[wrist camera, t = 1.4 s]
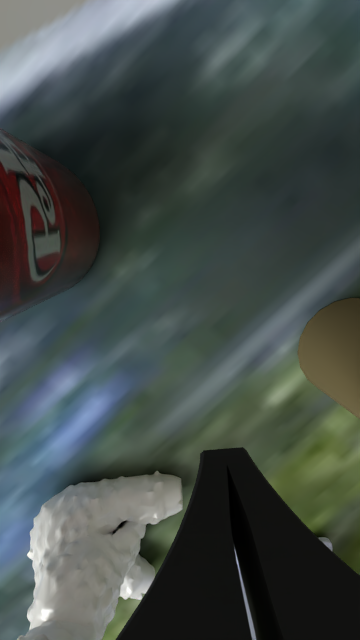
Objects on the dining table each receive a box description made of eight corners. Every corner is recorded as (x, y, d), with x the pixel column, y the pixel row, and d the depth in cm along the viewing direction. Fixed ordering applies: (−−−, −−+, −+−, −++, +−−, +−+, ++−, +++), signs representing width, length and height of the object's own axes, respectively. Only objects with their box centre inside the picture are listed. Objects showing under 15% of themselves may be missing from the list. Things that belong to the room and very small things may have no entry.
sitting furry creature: (149, 578, 24) (117, 902, 12) (33, 549, 23) (-115, 860, 12) (189, 473, 22) (196, 750, 10) (61, 438, 21) (-88, 688, 9)
